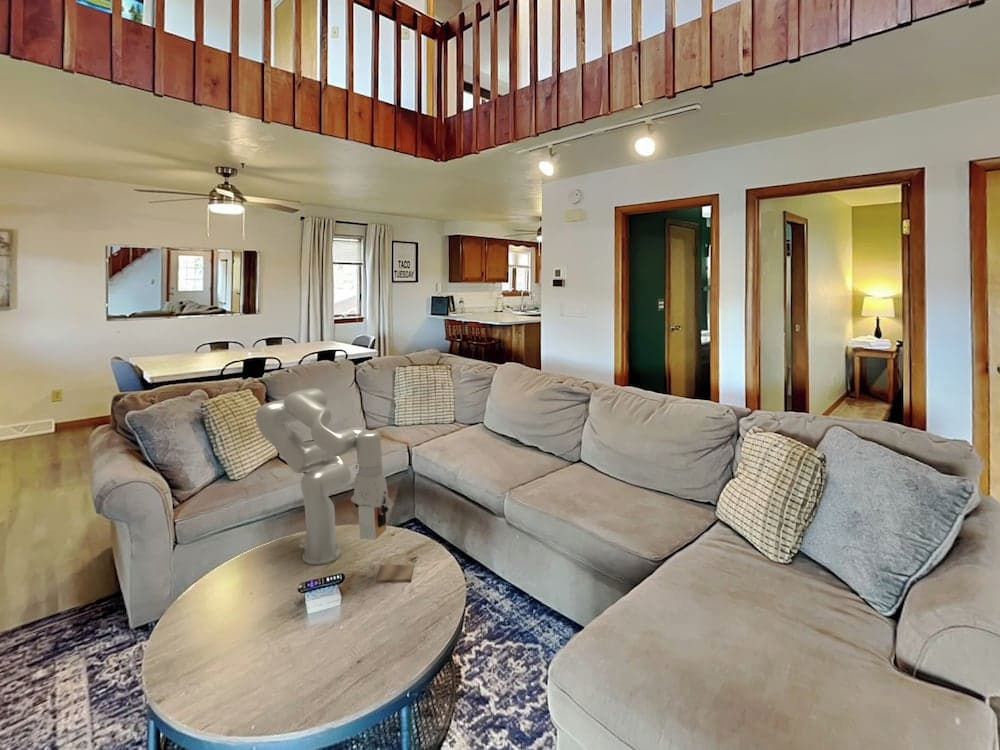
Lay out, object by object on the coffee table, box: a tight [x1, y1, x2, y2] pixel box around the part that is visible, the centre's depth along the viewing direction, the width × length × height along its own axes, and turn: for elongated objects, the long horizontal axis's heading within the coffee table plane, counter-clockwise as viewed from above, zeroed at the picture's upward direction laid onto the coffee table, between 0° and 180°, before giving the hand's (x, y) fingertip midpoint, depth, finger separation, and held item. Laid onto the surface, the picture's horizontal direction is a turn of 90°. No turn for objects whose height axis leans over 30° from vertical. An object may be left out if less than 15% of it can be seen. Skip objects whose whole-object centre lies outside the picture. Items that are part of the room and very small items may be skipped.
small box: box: [357, 506, 387, 541], centre depth 169 cm, size 8×6×10 cm
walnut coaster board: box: [375, 564, 415, 584], centre depth 173 cm, size 11×9×1 cm
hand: (373, 523), depth 169 cm, fingers closed on small box, 6 cm apart
